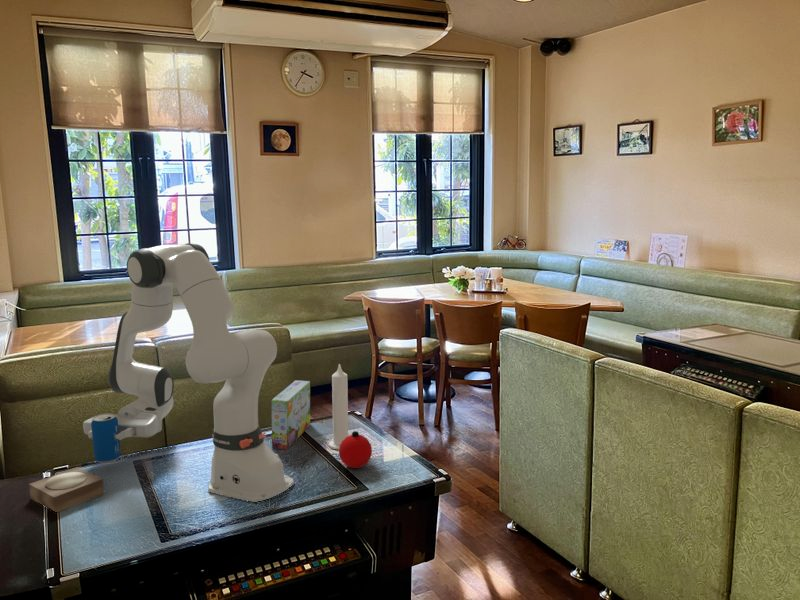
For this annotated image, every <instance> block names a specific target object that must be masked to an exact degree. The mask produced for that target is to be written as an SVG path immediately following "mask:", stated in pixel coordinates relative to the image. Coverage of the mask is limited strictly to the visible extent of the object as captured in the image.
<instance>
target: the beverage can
mask: <svg viewBox="0 0 800 600" xmlns="http://www.w3.org/2000/svg"><path fill="white" fill-rule="evenodd" d="M116 415H117V414H115V413H111V412H109V413H101V414H98V415H95V416H92V417H93V418H92V417H91V418H92V420H93V421H92V422H91V428H92V438H91V439H92V446H93V455H94V457H93V458H94V460H95V461H96V462H97V463H99V464H109V463H113V462H115V461H117V460H119V458H120V457H121V456H122V452H121V451H122V450H121V440H115V433H117V432H119V428H118V419H117V418H116V417H115V416H116Z"/></svg>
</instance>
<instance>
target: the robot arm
mask: <svg viewBox="0 0 800 600" xmlns="http://www.w3.org/2000/svg"><path fill="white" fill-rule="evenodd" d="M126 272H127V275H128V278H129V280H130V281H131V284H132V286H131V295H130V296H131V297H130V299H131V300H130V301H131V302H130V307H129V309H128V311H126V312H124V313H123V315H122V316H121V318H120V321H119V323H118V327H117V333H116V338H115V344H114V351H113V356H112V362H111V365H110V367H109V370H108V373H107V382H108V385H109V387H110V388H111V389H112V391H113V392H114V393H117V394H124V395H125V394H126V395H131V396H132V395H133V396H137V399H135V400H134V401H132V402H130V403H128V404H126V405H125V406H123V407H122V408H119V410H118V412H117V414H115V415H116V416H115V417H116V418H117V419H118V428H119V432H117V433H115V440H120V441H121V440H123V439H126V438H130V437H131V438H150V437H153V436H154V435H156V434H158V433H160V432H161V431H162V429H163V428H162V427H163V423H162V421H163V419H164V418H165V417H166V416H167V415H168V414H169V413H170V411H171V410H172V409H173V407H174V398H173V393H174V386H175V385H174V384H175V382H174V378H173V376H172V373H171V372H170V370H169V369H168V368H166V367H161V366H158V365H154V364H148V363H141V362H138V361H136V360H135V359H134V358H133V356H134V349H135V344H136V343H135V342H136V338H137V335H138V334H139V333H146V332H151V331H154V330H157V329H160V328H162V327H163V326H165V325H166V324H167V323H168V322H169V321H170V320H171V318H172V315H173V310H174V309H173V308H174V293H173V292H174V291H173V288H174V286H175V287H176V289H177V292H178V293H179V296H180V299H181V301H182V303H183V305H184V307H185V309H186V312H187V314H188V316H189V319H190V321H191V325H192V330H193V332H192V333H193V337H192V343H191V346H190V347H189V349H188V350H187V352H186V356H185V367H186V371H187V373H188V374H189V376H190V378H192V379H193V381H195V382H197V383H199V384H214V383H220V382H224V381H225V382H224V385H223V387H222V388H221V390H219V391H218V393H217V394H216V396H215V397H214V399H213V403H212V404H213V405H212V407H213V426H214V427H213V429H212V434H211V435H212V443H213V445H214V448H213V449H214V450H213V453H212V458H211V468H210V469H211V471H210V473H211V474H210V481H209V485H208V489H207V492H208V493H210V492H211V494H214V493H216V494H215V495H219V494H221V495H220V496H223V495H225V496H224V497H227V496H229V497H228V498H231V497H233V498H232V499H235V498H237V499H236V500H239V499H243V500H242V501H244V500H248V501H252V502H257V501H262V500H265V499H269V498H271V497H273V496H275V495H277V494H279V493H281V492H283V491H285V490H287V489H288V488H289V487H291V486H292V484H293V483H294V484H295V482H294V481H295V480H294V479H293V478H291V477H290V476H288V475H287V474H285V471H284V465H283V462H282V460H281V459H280V456H279V454H278V453H275V452H274V451H273V450H272V449H271V448H270V447H269V445H267V444H266V442H265V438H266V437H267V435H266V434H267V432H262V429H261V426H260V424H259V395H260V390H261V387H262V383H263V381H264V377H265V375H266V373H267V370H268V369H269V368H270V366H271V365H272V363H274V361H275V360H276V358H277V354H278V345H277V343H276V339H275V338H274V337H273V335H272V334H271V333H270V332H269V331H267V330H264V329H246V330H242V331H238V332H234V333H230V331H229V328H228V325H227V321H229V318H230V317H231V316H232V314H233V311H234V303H233V301H232V299H231V297H230V295H229V293H228V291H227V289H226V286H225V284H224V283H223V280H222V278H221V276H220V275H219V274H218V273H219V272H218V271H217V269H216V268H215V266H214V265H213V264H212V262H211V261H210V257H209V254H208V252H207V250H206V249H205V248H204V247H203V246H202V245H200V244H197V243H188V242H187V243H184V244H181V243H179V244H178V243H177V244H161V245H155V246H152V247H151V246H150V247H147V248H146V247H144V248H143V247H142V248H140V249H137V250H134V251H133V252H131V253H130V255H128V258H127V261H126ZM93 417H94V416H92V417H90V418H89V419H86V420H84V421H83V424H82V429H83V433H84V434H85V435H87V436H88V437H87V438H88V439H93V438H92V428H91V422H92V421H93V420H92V418H93ZM294 484H293V485H294ZM292 487H293V486H292ZM292 487H291V488H292ZM288 490H289V489H288ZM288 490H287V491H288ZM269 500H270V499H269ZM248 501H247V502H248ZM252 502H251V503H252ZM262 502H263V501H262ZM257 503H258V502H257Z"/></svg>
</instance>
